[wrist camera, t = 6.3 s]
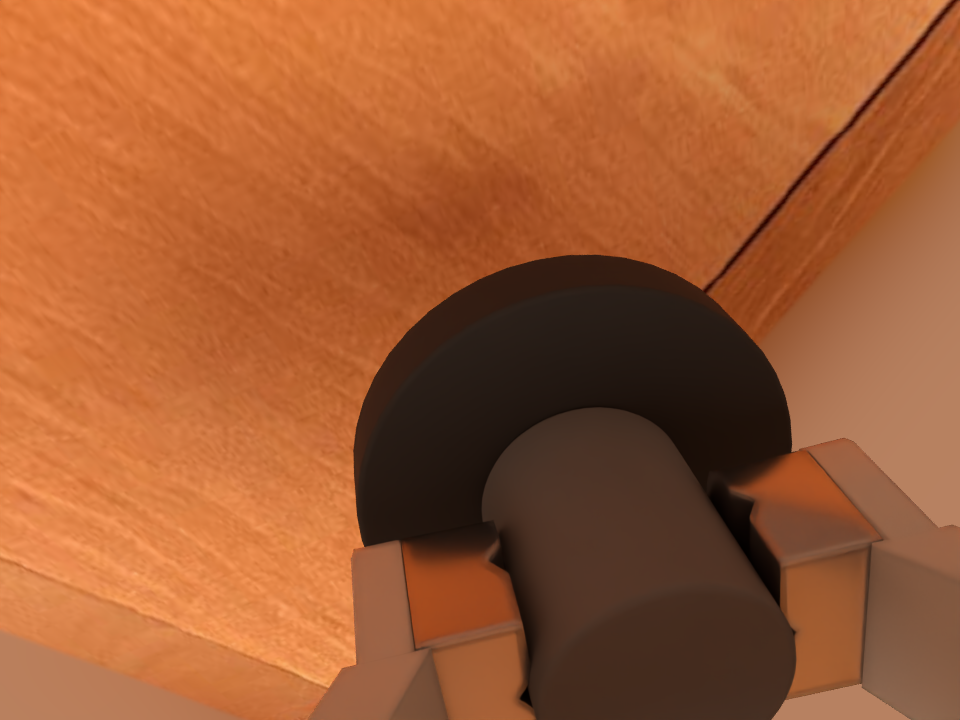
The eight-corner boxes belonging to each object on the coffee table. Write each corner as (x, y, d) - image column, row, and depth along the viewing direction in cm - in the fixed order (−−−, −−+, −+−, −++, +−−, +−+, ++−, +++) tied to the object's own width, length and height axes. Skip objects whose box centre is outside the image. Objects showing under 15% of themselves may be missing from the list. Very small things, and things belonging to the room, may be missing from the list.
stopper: (687, 159, 12) (980, 377, 7) (701, 469, 15) (926, 807, 9) (307, 237, 12) (305, 530, 7) (387, 541, 15) (432, 935, 9)
